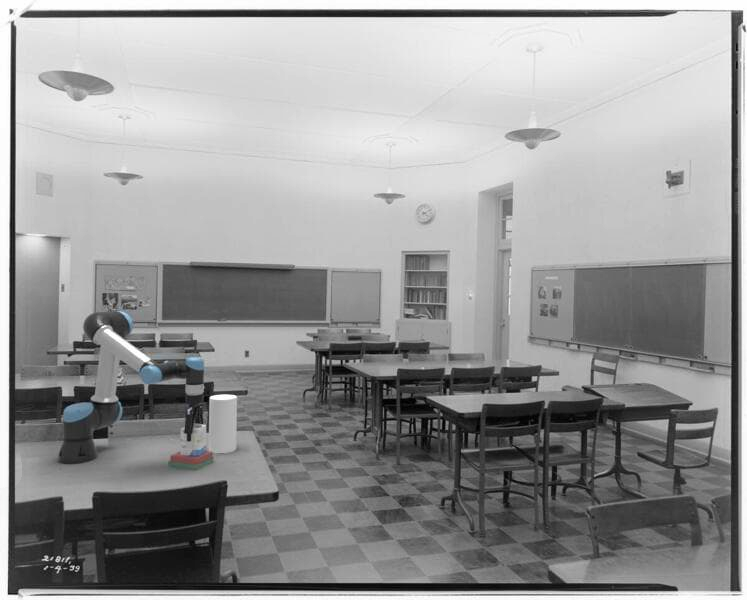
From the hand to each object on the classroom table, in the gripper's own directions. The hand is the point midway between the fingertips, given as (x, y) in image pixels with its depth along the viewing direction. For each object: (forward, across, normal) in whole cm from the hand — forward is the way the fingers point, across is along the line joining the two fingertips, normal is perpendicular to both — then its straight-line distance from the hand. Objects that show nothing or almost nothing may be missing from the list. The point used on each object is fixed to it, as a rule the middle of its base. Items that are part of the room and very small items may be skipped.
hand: (193, 445), depth 240 cm
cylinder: (+8, +21, -6) cm, 23 cm away
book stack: (+8, -1, +1) cm, 8 cm away
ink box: (+4, 0, 0) cm, 4 cm away
